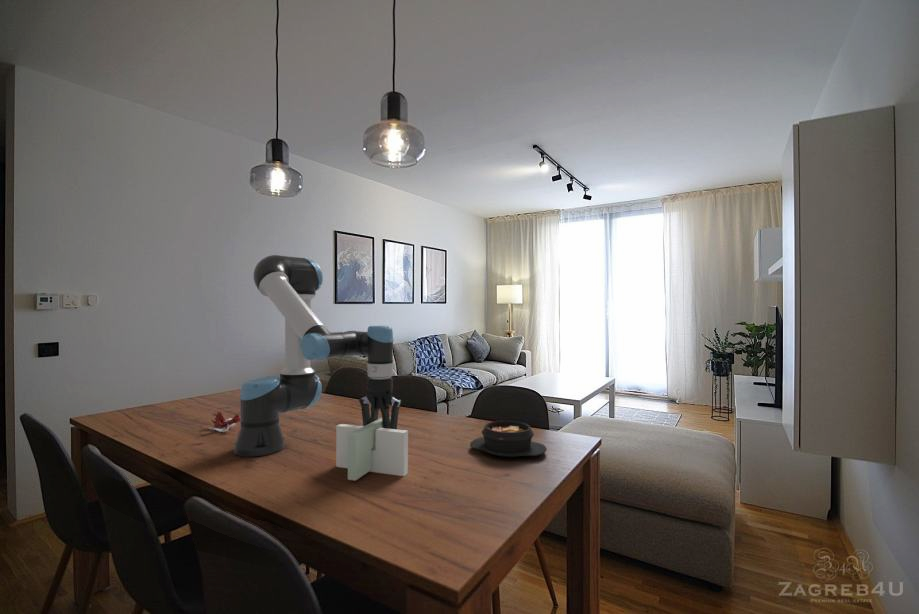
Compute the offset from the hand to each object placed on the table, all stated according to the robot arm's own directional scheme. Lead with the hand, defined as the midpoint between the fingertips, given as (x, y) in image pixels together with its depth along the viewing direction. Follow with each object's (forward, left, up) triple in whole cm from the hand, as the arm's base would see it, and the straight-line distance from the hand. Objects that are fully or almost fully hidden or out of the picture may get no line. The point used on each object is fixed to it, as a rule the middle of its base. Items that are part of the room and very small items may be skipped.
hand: (379, 455), depth 126 cm
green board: (0, -5, -2) cm, 5 cm away
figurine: (-74, +12, -3) cm, 75 cm away
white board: (0, -5, -3) cm, 6 cm away
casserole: (+34, +23, -3) cm, 41 cm away
